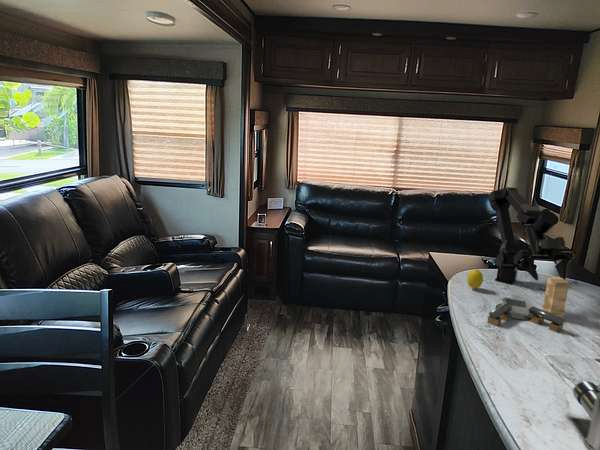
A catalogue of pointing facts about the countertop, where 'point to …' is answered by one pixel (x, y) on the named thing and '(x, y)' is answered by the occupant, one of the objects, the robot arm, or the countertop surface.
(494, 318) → the shaft
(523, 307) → the grey round socket base
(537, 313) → the shaft
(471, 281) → the lemon
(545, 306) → the block
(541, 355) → the countertop surface
